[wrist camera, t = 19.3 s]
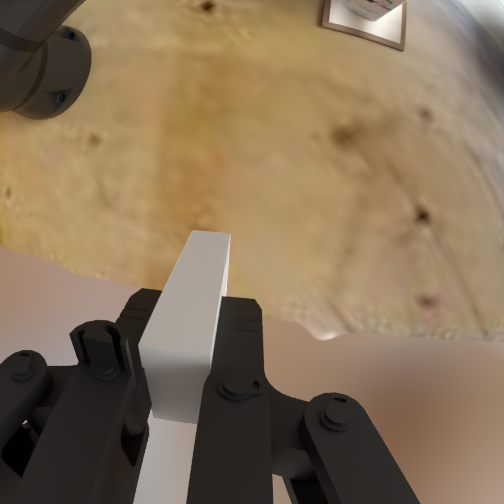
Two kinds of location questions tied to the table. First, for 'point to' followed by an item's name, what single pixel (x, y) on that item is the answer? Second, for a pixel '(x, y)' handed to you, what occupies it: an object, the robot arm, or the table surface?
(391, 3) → the ink box
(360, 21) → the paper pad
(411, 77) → the table surface
